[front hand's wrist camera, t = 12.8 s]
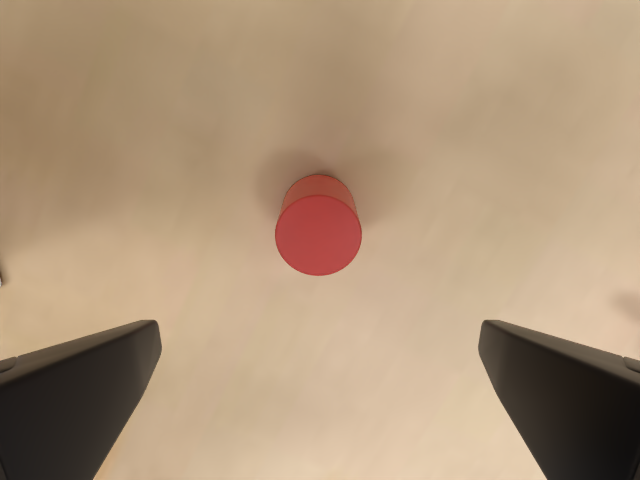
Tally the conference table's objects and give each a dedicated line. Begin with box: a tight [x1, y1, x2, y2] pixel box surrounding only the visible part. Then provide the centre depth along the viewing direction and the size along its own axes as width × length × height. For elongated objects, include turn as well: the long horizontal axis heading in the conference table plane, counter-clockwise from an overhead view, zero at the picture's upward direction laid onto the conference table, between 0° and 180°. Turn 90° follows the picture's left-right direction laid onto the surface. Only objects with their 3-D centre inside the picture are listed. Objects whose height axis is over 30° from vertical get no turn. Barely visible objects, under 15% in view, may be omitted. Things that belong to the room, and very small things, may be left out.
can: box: [275, 175, 362, 276], centre depth 21 cm, size 4×4×4 cm
